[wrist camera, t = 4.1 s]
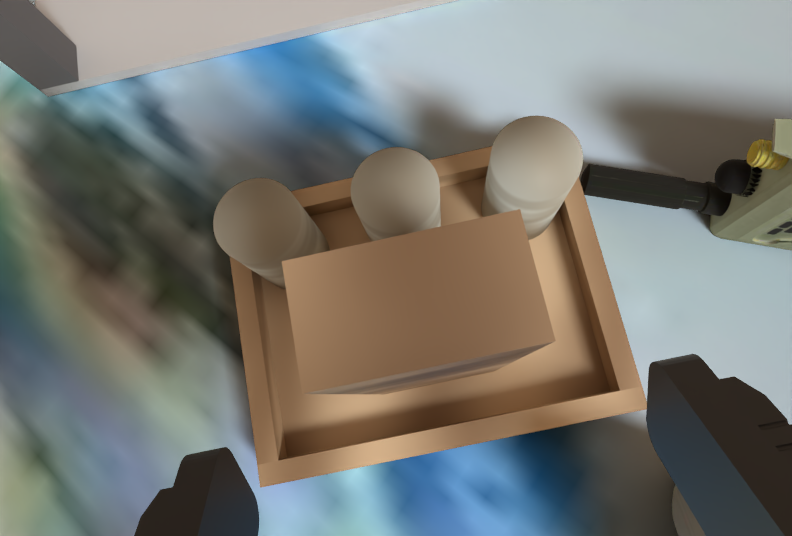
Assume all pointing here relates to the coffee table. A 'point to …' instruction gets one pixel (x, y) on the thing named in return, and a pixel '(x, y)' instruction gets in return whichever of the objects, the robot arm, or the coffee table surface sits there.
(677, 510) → the digital clock
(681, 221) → the coffee table surface
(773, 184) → the handheld radio
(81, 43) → the grey stool
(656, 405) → the robot arm
